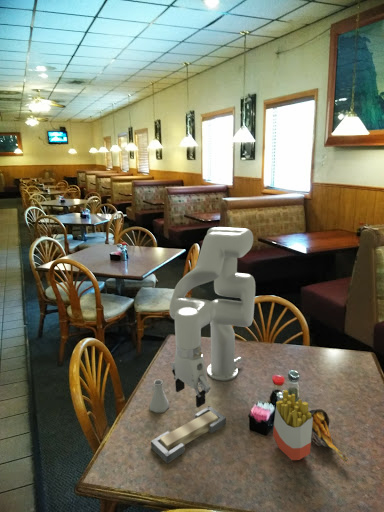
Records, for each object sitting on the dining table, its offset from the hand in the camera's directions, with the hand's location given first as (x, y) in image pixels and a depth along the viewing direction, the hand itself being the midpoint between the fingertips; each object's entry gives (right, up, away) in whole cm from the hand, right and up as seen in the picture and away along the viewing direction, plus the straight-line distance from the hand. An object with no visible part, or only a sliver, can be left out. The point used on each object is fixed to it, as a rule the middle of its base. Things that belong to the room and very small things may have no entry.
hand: (190, 397), depth 114 cm
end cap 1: (-7, -15, -3) cm, 17 cm away
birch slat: (0, -14, +3) cm, 14 cm away
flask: (-11, -10, +17) cm, 22 cm away
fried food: (+41, -14, -1) cm, 43 cm away
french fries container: (+30, -15, -4) cm, 34 cm away
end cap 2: (+7, -12, +9) cm, 16 cm away
